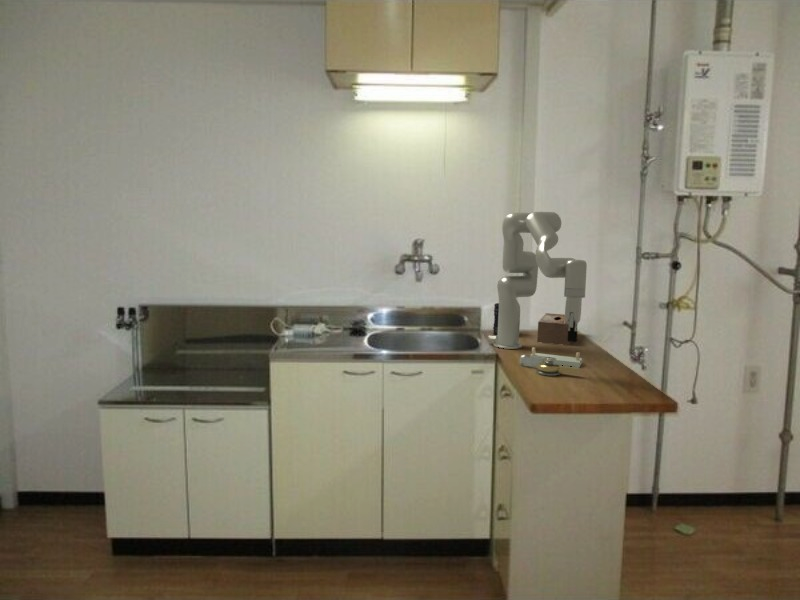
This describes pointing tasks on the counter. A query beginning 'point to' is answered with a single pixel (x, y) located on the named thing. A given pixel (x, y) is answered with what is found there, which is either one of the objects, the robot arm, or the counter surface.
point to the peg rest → (563, 359)
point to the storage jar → (496, 319)
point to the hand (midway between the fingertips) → (572, 341)
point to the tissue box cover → (553, 329)
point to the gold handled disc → (556, 368)
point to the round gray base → (548, 373)
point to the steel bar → (534, 360)
